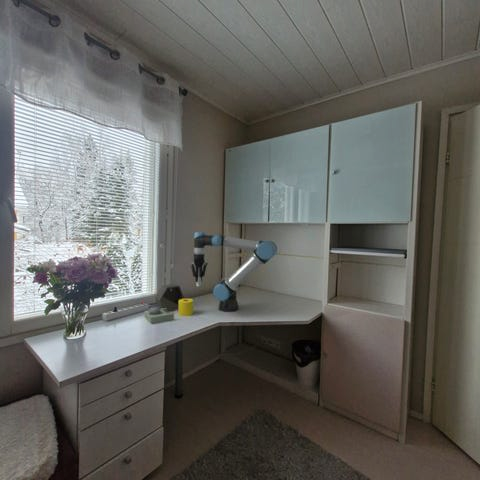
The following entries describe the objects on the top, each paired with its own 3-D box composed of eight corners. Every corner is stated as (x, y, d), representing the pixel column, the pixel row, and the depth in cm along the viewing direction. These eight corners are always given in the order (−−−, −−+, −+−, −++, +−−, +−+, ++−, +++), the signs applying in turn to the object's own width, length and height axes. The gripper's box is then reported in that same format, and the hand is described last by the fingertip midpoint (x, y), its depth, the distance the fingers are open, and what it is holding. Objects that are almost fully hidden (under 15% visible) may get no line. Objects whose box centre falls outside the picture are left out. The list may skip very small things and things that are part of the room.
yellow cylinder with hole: (195, 312, 182) (195, 299, 182) (189, 316, 172) (189, 303, 172) (182, 310, 184) (182, 298, 184) (175, 315, 175) (175, 301, 174)
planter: (155, 307, 176) (170, 280, 183) (150, 304, 181) (165, 279, 188) (173, 316, 186) (187, 290, 193) (168, 313, 191) (182, 288, 198)
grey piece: (166, 313, 178) (166, 303, 178) (173, 319, 166) (173, 309, 165) (144, 317, 170) (144, 306, 169) (151, 324, 157) (151, 312, 157)
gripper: (205, 252, 189) (204, 284, 190) (188, 253, 181) (187, 286, 182) (210, 253, 183) (209, 286, 184) (192, 254, 175) (191, 288, 176)
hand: (198, 286), depth 183 cm, fingers closed
